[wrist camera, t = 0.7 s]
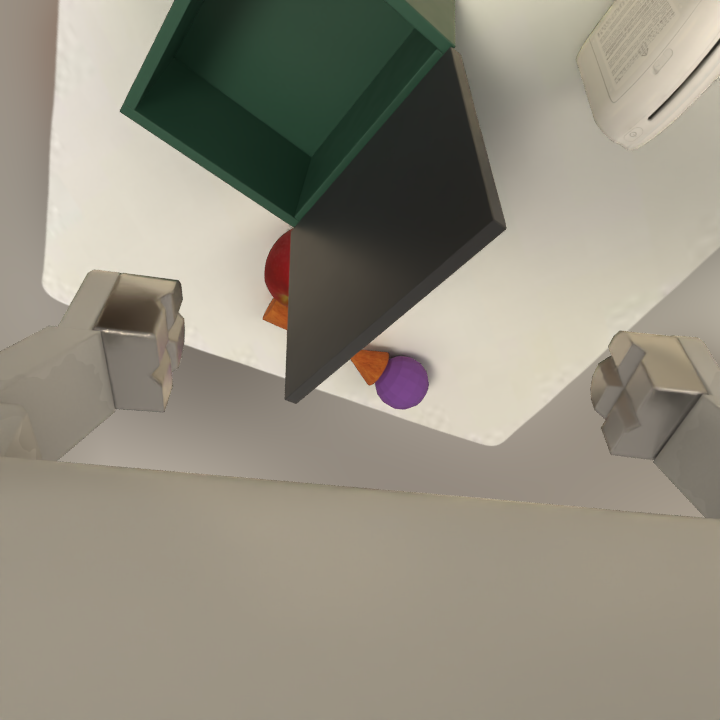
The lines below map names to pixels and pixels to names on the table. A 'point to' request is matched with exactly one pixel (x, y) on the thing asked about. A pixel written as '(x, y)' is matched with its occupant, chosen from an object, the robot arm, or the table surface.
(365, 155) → the bin lid
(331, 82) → the bin
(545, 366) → the table surface
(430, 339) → the table surface
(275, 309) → the kendama
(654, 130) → the photo printer
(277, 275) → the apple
